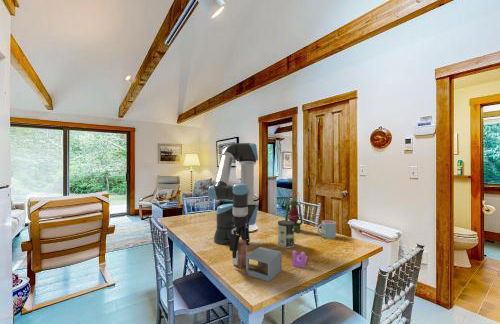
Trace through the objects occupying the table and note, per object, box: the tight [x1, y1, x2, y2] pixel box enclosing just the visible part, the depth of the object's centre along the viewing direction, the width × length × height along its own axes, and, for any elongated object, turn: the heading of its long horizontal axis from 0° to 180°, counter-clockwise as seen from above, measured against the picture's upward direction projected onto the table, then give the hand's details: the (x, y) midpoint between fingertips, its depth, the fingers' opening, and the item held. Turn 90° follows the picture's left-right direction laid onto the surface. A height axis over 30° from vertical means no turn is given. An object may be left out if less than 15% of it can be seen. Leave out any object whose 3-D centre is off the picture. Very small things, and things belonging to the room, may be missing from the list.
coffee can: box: [277, 219, 295, 249], centre depth 140 cm, size 10×10×14 cm
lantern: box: [284, 190, 304, 234], centre depth 170 cm, size 14×11×30 cm
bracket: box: [291, 249, 308, 269], centre depth 117 cm, size 13×6×7 cm, turn 155°
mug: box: [317, 219, 337, 240], centre depth 156 cm, size 14×9×10 cm
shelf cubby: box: [245, 246, 283, 282], centre depth 106 cm, size 12×13×8 cm
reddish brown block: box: [233, 238, 268, 275], centre depth 109 cm, size 19×5×12 cm, turn 60°
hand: (239, 260), depth 112 cm, fingers open, 8 cm apart
